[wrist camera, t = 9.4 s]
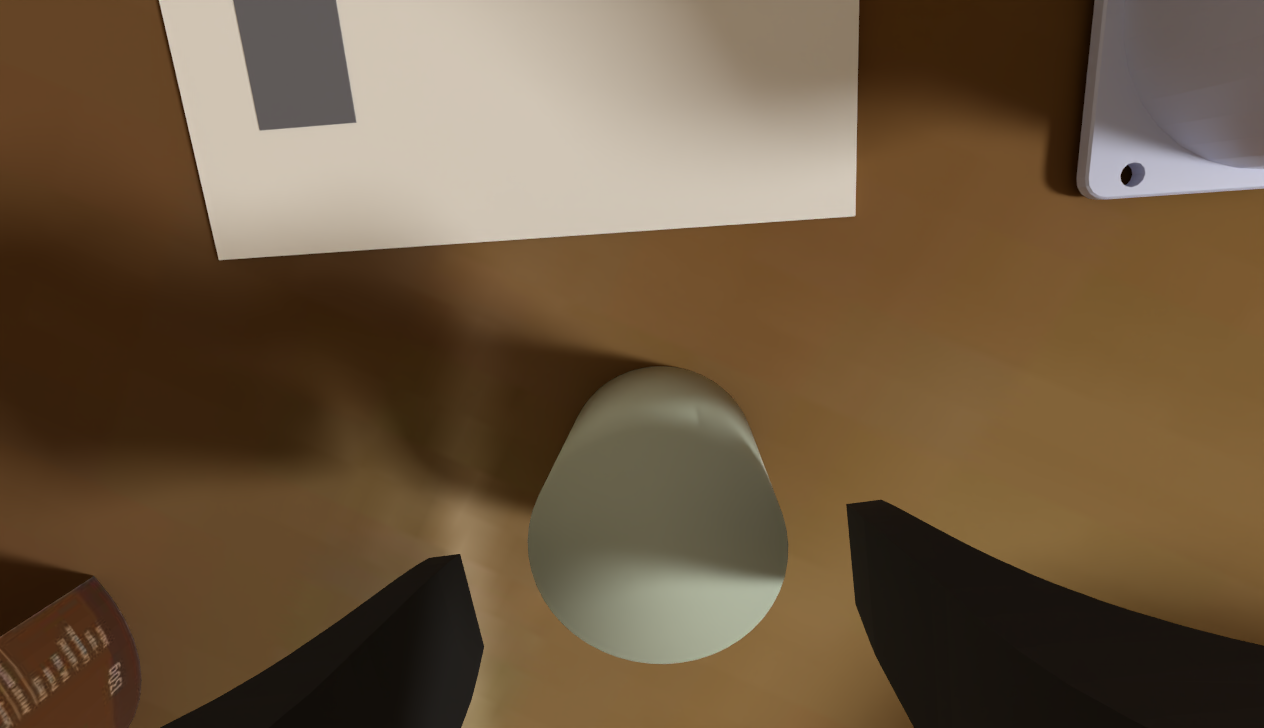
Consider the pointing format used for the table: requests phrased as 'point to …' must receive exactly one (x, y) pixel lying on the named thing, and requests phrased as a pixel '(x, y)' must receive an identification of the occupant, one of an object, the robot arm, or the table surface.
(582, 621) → the sage cylinder
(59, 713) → the food container
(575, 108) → the board
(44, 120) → the table surface
